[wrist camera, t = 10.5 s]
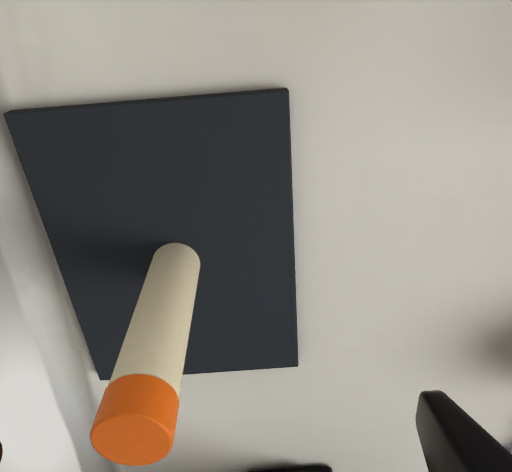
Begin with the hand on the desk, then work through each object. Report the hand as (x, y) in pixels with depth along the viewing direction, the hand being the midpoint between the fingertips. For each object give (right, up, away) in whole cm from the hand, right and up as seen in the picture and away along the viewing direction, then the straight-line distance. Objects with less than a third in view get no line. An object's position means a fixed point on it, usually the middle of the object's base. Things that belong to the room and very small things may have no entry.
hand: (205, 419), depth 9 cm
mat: (-3, +3, +13) cm, 14 cm away
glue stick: (-3, +3, +13) cm, 13 cm away
